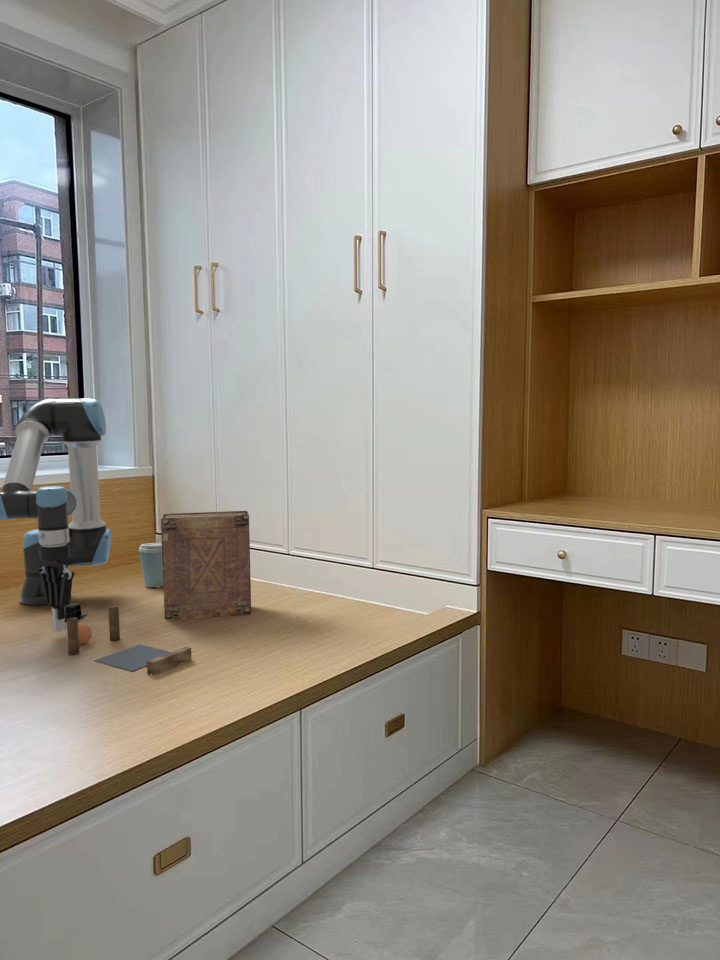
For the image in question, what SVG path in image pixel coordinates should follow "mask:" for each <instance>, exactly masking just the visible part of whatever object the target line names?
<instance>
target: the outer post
mask: <svg viewBox="0 0 720 960" xmlns="http://www.w3.org/2000/svg"><path fill="white" fill-rule="evenodd" d="M66 620H67V622H66V634H67V654H68V656H77V655H79V654H80V645H79V636H78V624H79V620H78V618H75V617H73V618H68V619H66Z"/></svg>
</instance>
